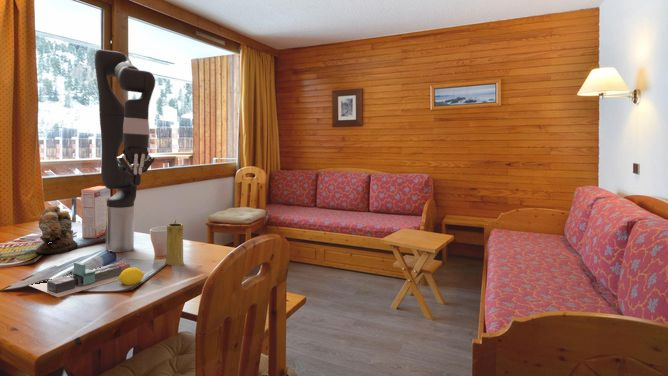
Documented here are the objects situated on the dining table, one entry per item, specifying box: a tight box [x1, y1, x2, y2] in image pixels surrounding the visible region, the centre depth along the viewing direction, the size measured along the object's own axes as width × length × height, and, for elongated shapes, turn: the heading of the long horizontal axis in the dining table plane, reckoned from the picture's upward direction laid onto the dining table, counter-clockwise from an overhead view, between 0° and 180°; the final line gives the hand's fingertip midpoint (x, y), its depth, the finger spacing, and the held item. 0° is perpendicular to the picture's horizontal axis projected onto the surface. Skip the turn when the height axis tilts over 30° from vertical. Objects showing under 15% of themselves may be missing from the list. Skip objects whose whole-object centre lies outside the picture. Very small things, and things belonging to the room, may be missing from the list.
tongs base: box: [46, 263, 131, 294], centre depth 119 cm, size 22×4×3 cm, turn 152°
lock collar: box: [71, 261, 95, 285], centre depth 117 cm, size 3×6×6 cm, turn 62°
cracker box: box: [80, 185, 111, 239], centre depth 174 cm, size 14×6×21 cm, turn 5°
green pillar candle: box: [165, 222, 184, 266], centre depth 141 cm, size 6×6×14 cm
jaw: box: [69, 261, 126, 279], centre depth 122 cm, size 16×2×3 cm, turn 152°
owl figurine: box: [35, 204, 79, 256], centre depth 149 cm, size 18×12×17 cm, turn 12°
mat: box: [28, 263, 120, 298], centre depth 121 cm, size 15×25×1 cm, turn 153°
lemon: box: [118, 267, 145, 286], centre depth 120 cm, size 7×5×5 cm
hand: (135, 185), depth 131 cm, fingers closed
